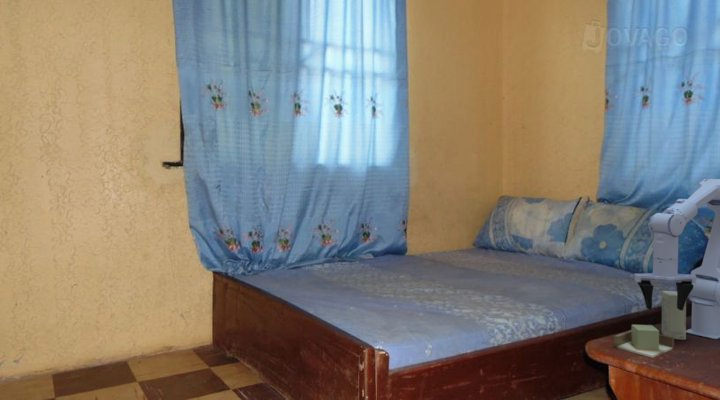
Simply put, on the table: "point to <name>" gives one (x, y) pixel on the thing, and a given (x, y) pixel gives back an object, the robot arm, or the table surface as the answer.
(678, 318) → the skincare box
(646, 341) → the olive cube
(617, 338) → the arena
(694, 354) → the table surface
